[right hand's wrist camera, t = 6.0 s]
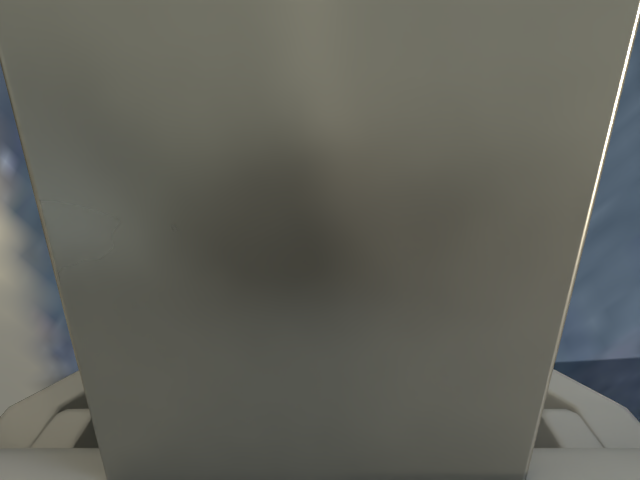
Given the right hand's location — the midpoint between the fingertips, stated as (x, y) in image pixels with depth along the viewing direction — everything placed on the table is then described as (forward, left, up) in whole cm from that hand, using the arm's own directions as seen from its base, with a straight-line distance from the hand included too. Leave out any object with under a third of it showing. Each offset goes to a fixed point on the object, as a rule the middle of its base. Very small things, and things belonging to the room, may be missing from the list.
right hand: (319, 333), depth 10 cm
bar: (+10, 0, -4) cm, 11 cm away
